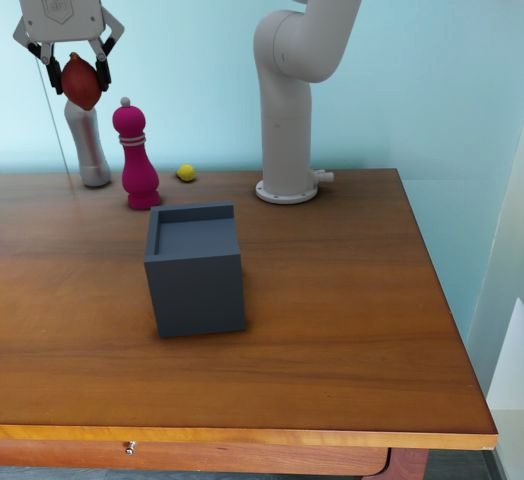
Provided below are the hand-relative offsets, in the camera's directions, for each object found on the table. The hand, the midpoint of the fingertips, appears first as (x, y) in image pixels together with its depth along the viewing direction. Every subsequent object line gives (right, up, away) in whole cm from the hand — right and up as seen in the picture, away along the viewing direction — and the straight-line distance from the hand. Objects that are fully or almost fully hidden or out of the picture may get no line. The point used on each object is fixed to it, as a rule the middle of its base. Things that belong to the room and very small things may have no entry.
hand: (83, 89), depth 78 cm
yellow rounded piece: (+9, -1, +38) cm, 39 cm away
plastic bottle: (-10, -2, +37) cm, 39 cm away
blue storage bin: (+17, -31, +1) cm, 36 cm away
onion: (0, -2, +2) cm, 3 cm away
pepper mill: (+3, -9, +29) cm, 30 cm away
